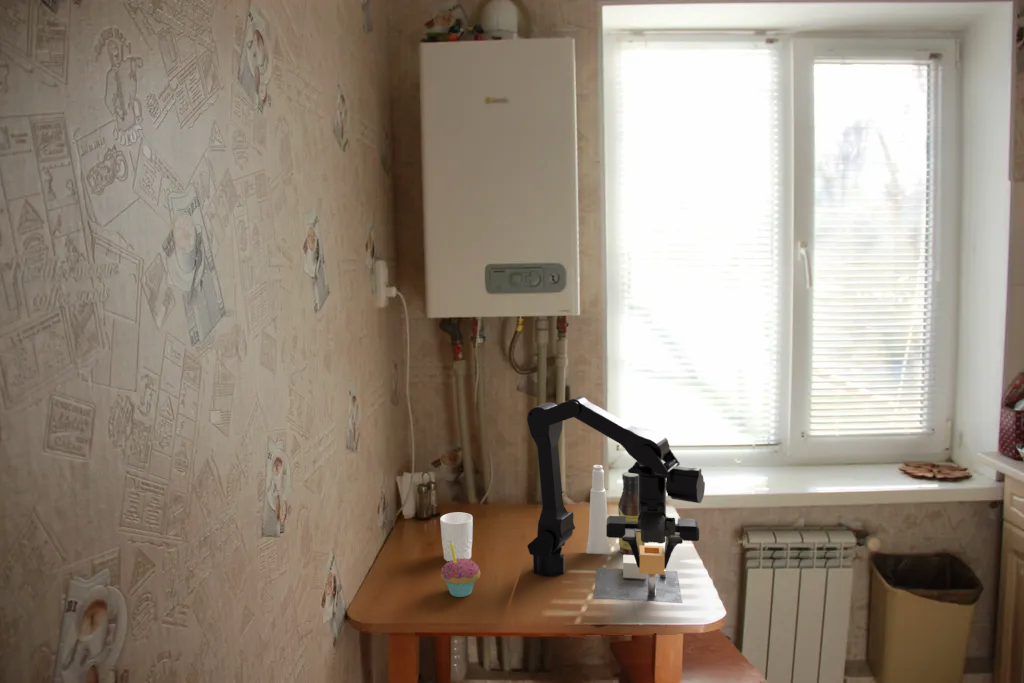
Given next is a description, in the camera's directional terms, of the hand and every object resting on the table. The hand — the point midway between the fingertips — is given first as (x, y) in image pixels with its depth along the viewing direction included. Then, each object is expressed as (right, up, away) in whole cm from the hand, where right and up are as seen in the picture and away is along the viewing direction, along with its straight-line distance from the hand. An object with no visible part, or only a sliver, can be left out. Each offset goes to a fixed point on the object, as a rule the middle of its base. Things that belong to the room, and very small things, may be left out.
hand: (651, 567), depth 150 cm
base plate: (-2, -7, +6) cm, 9 cm away
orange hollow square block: (0, 0, 0) cm, 0 cm away
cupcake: (-40, -8, +6) cm, 42 cm away
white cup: (-43, -6, +25) cm, 50 cm away
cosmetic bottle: (-8, -5, +25) cm, 27 cm away
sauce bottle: (0, -5, +26) cm, 26 cm away
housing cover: (-2, -5, +10) cm, 11 cm away
